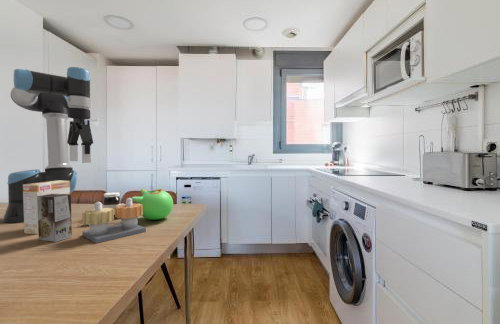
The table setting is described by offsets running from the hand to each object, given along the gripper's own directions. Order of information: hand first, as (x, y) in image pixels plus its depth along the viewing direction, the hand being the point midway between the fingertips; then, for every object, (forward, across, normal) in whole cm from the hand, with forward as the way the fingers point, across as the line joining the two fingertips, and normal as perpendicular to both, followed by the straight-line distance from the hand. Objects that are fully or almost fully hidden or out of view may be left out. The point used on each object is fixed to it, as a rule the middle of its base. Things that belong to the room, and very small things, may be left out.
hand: (79, 162), depth 104 cm
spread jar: (+29, -13, +20) cm, 37 cm away
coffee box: (+28, +4, -9) cm, 30 cm away
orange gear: (+22, +14, +13) cm, 29 cm away
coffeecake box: (+28, -14, -7) cm, 32 cm away
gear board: (+28, +14, +7) cm, 32 cm away
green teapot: (+28, +6, +29) cm, 41 cm away
